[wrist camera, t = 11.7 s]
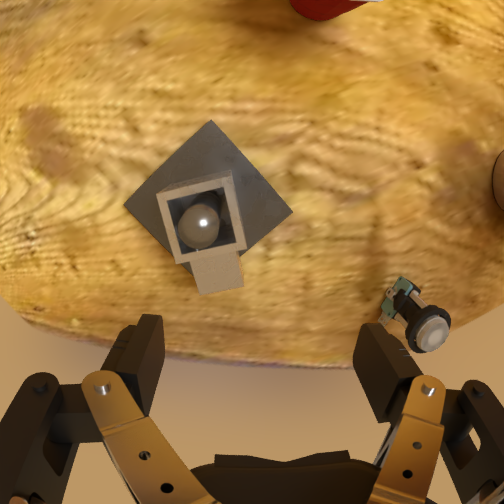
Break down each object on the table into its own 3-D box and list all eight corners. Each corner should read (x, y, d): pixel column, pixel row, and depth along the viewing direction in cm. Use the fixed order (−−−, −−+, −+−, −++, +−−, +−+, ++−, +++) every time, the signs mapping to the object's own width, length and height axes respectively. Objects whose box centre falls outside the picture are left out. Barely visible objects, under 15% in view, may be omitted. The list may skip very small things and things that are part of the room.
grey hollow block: (170, 184, 30) (156, 194, 24) (230, 169, 29) (230, 176, 24) (195, 274, 33) (188, 301, 27) (251, 262, 33) (255, 287, 27)
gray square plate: (211, 120, 29) (203, 111, 20) (291, 209, 32) (312, 235, 24) (126, 202, 31) (91, 225, 22) (205, 282, 34) (197, 328, 26)
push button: (391, 325, 38) (426, 372, 29) (362, 312, 37) (395, 362, 28) (419, 283, 36) (463, 323, 27) (392, 267, 35) (436, 307, 26)
